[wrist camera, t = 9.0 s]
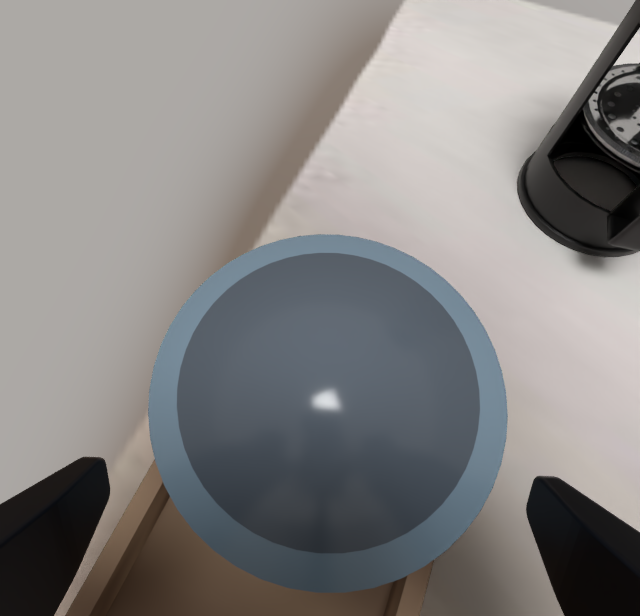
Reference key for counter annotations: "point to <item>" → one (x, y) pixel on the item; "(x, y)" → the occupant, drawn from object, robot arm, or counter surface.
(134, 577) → the tray
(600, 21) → the counter surface
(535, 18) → the counter surface
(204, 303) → the cup
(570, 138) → the french press
